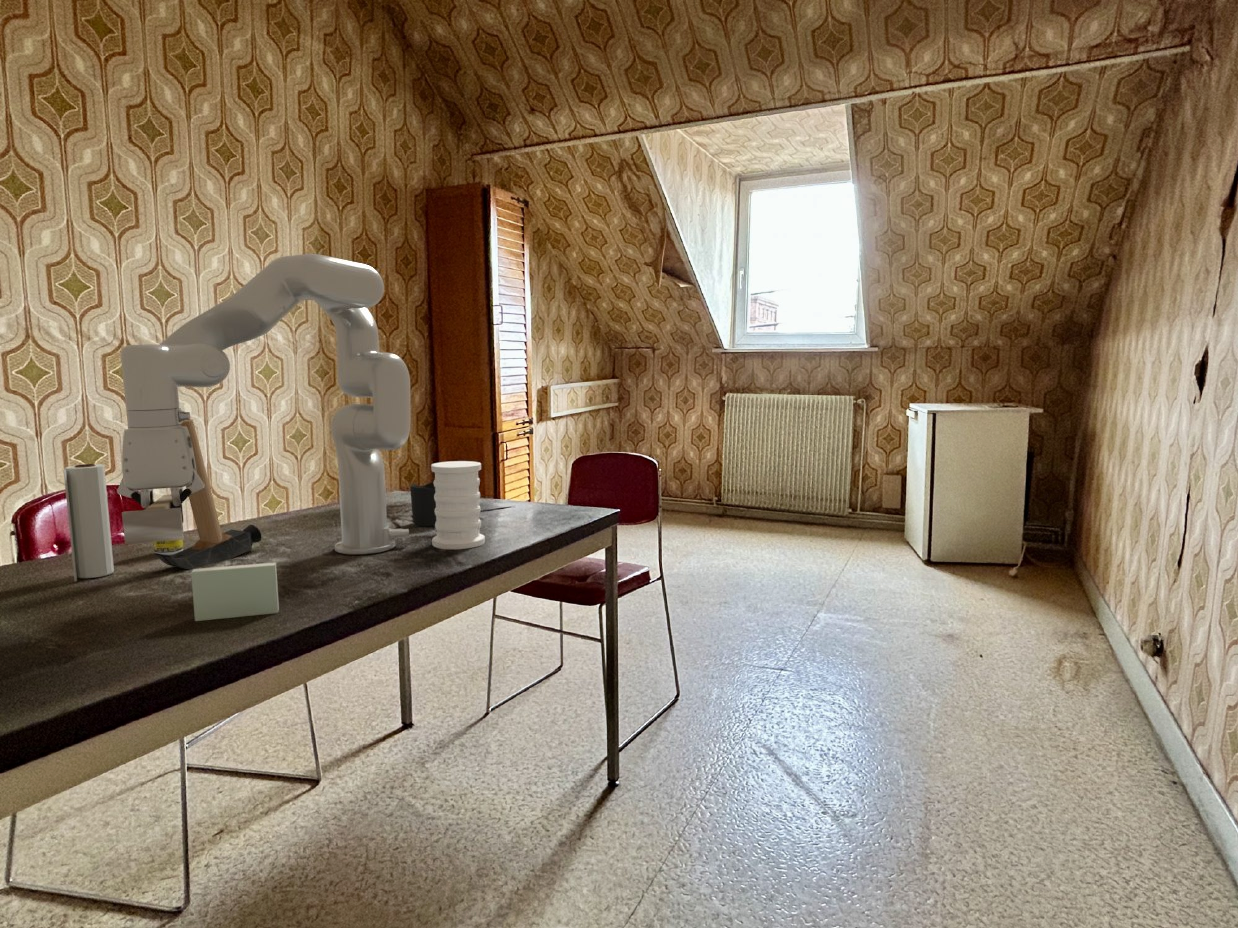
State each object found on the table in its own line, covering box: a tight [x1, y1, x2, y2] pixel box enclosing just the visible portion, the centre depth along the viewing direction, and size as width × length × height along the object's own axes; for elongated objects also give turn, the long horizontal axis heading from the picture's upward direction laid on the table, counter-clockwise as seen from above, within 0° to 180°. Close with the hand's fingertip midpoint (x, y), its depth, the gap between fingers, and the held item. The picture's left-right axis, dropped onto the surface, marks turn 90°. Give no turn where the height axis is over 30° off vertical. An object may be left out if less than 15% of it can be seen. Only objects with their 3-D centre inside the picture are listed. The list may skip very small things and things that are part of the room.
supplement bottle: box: [152, 539, 184, 556], centre depth 163 cm, size 5×5×10 cm
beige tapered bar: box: [121, 494, 185, 545], centre depth 127 cm, size 15×8×5 cm, turn 19°
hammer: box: [153, 418, 262, 570], centre depth 153 cm, size 20×5×30 cm, turn 153°
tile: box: [190, 562, 280, 622], centre depth 122 cm, size 12×2×8 cm, turn 109°
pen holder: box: [409, 481, 436, 528], centre depth 192 cm, size 9×9×10 cm
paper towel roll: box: [63, 463, 115, 582], centre depth 145 cm, size 7×6×21 cm
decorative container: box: [430, 460, 486, 550], centre depth 170 cm, size 12×12×18 cm
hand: (165, 528), depth 128 cm, fingers closed on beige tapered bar, 2 cm apart
